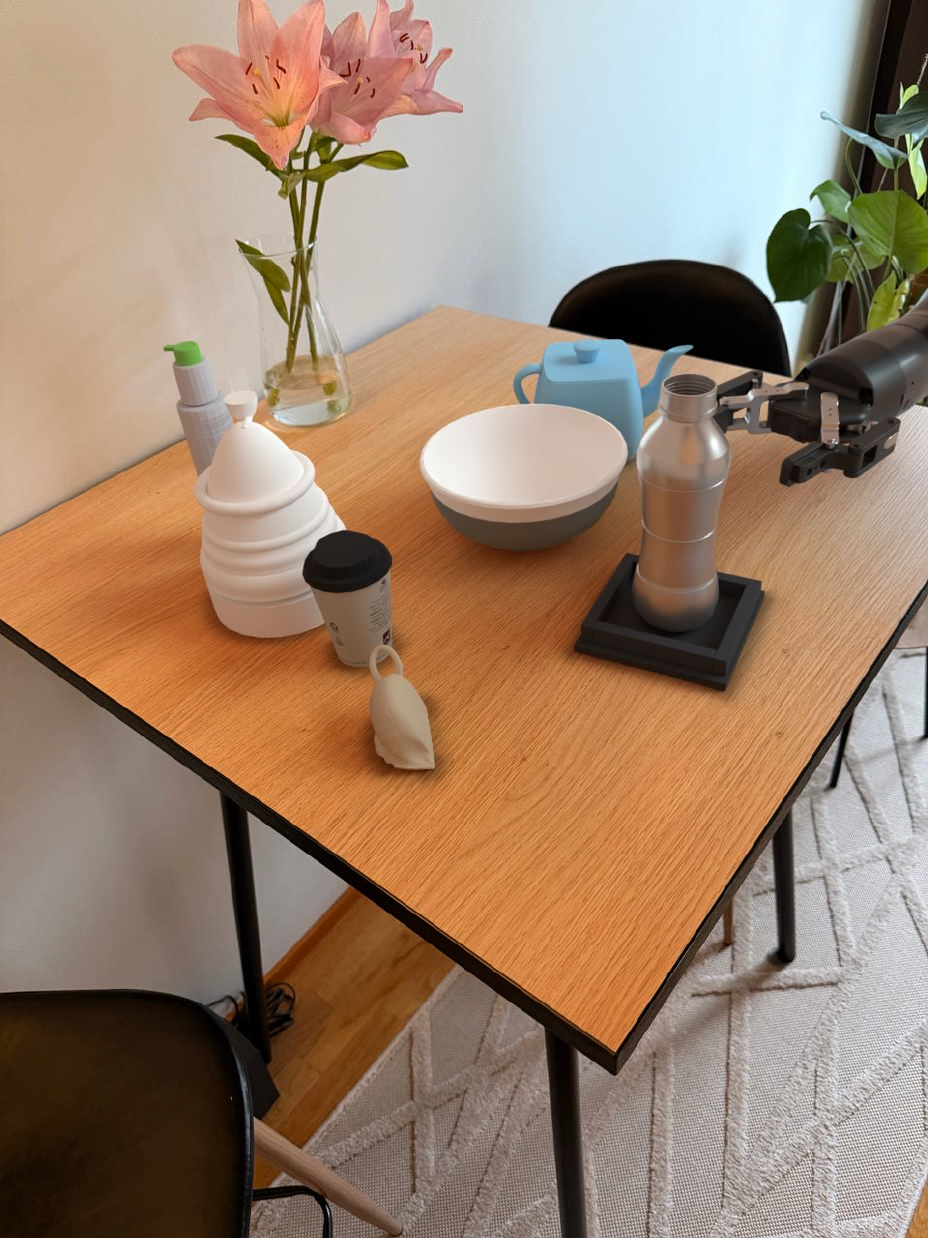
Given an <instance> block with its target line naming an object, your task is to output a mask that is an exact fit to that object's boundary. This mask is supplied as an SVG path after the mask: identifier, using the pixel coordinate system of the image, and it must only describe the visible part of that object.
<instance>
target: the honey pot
mask: <svg viewBox="0 0 928 1238" xmlns="http://www.w3.org/2000/svg"><path fill="white" fill-rule="evenodd" d="M224 401H225V404H226V407H227V409H228V410H229V412H230V413H231V416H232V417H234V418H235V419H237V420H239V421H237V422H234V425H232V426H231V427H230V428H229V429H228V430H227V431H226V432H225V433H224V435H223V436H222V438H221V440H220V442H219V444H218V446H217V448H216V451H215V454H214V457H213V460H212V464H211V466H209V467H208V468H207V469H206V470H205V471H203V472H202V473H201V474H200V475H199V477H198V476H197V479H196V480H195V482H194V484H193V496H194V498H195V500H196V502H197V504H198V506H200V507H202V508H203V509H204V513H203V515H202V517H201V547H200V551H199V553H200V554H199V565H200V569H201V571H202V573H203V578H204V580H205V585H206V588H207V590H208V593H209V596H210V599H211V603H212V605H213V608H214V611H215V613H216V615H217V617H218V620H219V622H221V624H222V625H224V626H225V627H226V628H227V629H229V630H230V631H233V632H235V633H238V634H240V635H242V636H247V637H252V638H259V639H270V638H283V637H289V636H294V635H299V634H302V633H305V632H308V631H311V630H313V629H316V628H318V627H320V626H323V625H325V622H324V620H323V617H322V615H321V612H320V610H319V607H318V605H317V602H316V600H315V597H314V595H313V592H312V590H311V588H310V585H309V584H308V583H306V582H305V580H304V577H303V575H302V572H303V565H304V561H305V559H306V557H307V556H308V554H309V553H310V551H312V550H313V549H314V548H315V546H316V543H317V541H318V540H319V539H320V538H322V537H324V536H326V535H328V534H330V533H334V532H338V531H341V530H347V528H346V525H345V524H344V522H343V521H342V520H341V518H340V516H339V515H338V514H337V513H336V511H335V508H334V507H333V506H332V505H331V503H330V501H329V498H328V495H326V493H325V492H324V490H322V489H323V488H321V487H319V486H318V485H317V483H316V482H315V478H316V469H315V465H314V463H313V462H312V461H311V460H310V458H309V457H308V456H307V455H305V454H303V453H301V452H300V451H297V450H295V449H294V450H293V449H290V448H289V447H288V446H287V444H286V443H285V442H284V441H283V440H282V439H281V438H280V437H278V436H277V435H276V433H274V432H273V431H271V430H270V429H268V428H267V427H266V426H264V425H262V424H260V423H258V422H254V421H253V419H254V416H255V415H256V413H257V411H258V394H257V392H256V391H254V390H250V389H243V390H237V391H236V390H235V391H234V392H231V393H229V394H226V397H225V399H224Z"/></svg>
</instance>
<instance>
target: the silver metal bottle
mask: <svg viewBox="0 0 928 1238" xmlns="http://www.w3.org/2000/svg"><path fill="white" fill-rule="evenodd" d="M717 385H718V382H717V380H715V379H714V378H712V377H710V376H708V375H705V374H701V373H693V372H691V373H690V372H686V373H684V372H683V373H677V374H672V375H670V377H668V378H666V379H665V380H663V382H662V385H661V392H660V400H659V402H658V409H657V411H658V413H659V414H660V416H659V417H657V419H656V420H655V421H654V422H653V423H652V424H651V425H650V426H649V427H648V429H647V430H646V431H645V433H644V434H642V438H641V440H640V443H639V446H638V449H637V453H636V454H635V458H636V471H637V476H638V482H639V492H640V498H641V518H642V519H641V531H642V532H641V540H640V548H639V554H638V555H639V562H638V564H637V567H636V571H635V575H634V581H633V586H632V593H633V598H634V604H635V608H636V610H637V612H638V613H639V614H640V615H641V617H642V618H643V619H644V620H645V621H646V622H647V623H648V624H650V625H652V626H653V627H655V628H658V629H661V630H665V631H670V632H684V631H690V630H693V629H696V628H698V627H700V626H701V625H702V624H704V623H705V622H706V621H707V620H708V619H709V618H710V617H711V616H712V615H713V612H714V610H715V607H716V604H717V601H718V598H719V587H718V576H717V572H718V571H717V567H716V566H717V565H716V563H717V562H716V561H717V560H716V535H717V534H716V533H717V527H718V521H719V514H720V508H721V502H722V498H723V495H724V491H725V487H726V484H727V480H728V476H729V472H730V469H731V464H732V463H731V462H732V451H731V447H730V443H729V440H728V438H727V437H726V434H724V433H723V431H722V430H721V428H720V427H719V425H718V424H717V423H716V421H715V420H714V419H713V417H712V416H713V415H715V413H716V412H717V401H716V398H717V390H718V387H717Z"/></svg>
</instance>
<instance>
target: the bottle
mask: <svg viewBox="0 0 928 1238" xmlns="http://www.w3.org/2000/svg"><path fill="white" fill-rule="evenodd" d="M163 352H172V353H173V355H174V361H173V362H172V370H173V375H174V378H175V383H176V386H177V390H178V394H179V396H180V398H179V399H178V401H177V402H176V410H177V414H178V417H179V420H180V424H181V426H182V430H183V434H184V436H185V440H186V443H187V447H188V450H189V452H190V455H191V458H192V461H193V465H194V469H195V471H196V475H197V478H198V477H199V475H200V474H201V473H202V472H203V471H205V470H206V469H207V468H208V467H209V466H211V464H212V460H213V457H214V454H215V451H216V448H217V446H218V444H219V442H220V440H221V438H222V436H223V435H224V433H225V432H226V431H227V430H228V429H229V428H230V427H231V426H232V425H234V424H235V422H234V420H233V415H232V414H231V413H230V412H229V410H228V409H227V407H226V404H225V401H224V399H225V397H226V396H227V394H225V393H224V392H223V391H222V390H218V387H217V385H216V384H217V383H216V381H215V377H214V374H213V371H212V368H211V366H210V362H209V359H208V357H207V356H206V355H203V354H202V352H201V349H200V347H199V344H198V342H197V341H193V340H186V341H181V342H178V343H176V344H166V345H165V346H164V347H163Z"/></svg>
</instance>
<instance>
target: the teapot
mask: <svg viewBox="0 0 928 1238" xmlns="http://www.w3.org/2000/svg"><path fill="white" fill-rule="evenodd" d="M693 348H694V345H692V344H686V345H679V346H674V347H672V348H670V349H668V350H666V351H665V352H664V353H663V354H662V355H661V357H660V358H659V361H658V362H657V365H656V369H655V372H654V374H653V377H652V379H651V380H650V381H649V382H648V383H647V384H645V385H643V386H641V384H640V380H639V376H638V371H637V368H636V364H635V361H634V358H633V355H632V354H633V353H632V352H631V349H630V347H629V345H628V344H627V343H626V342H625V341H624V340H623V339H614V338H613V339H593V338H592V339H591V338H586V339H581V340H573V341H564V342H563V341H561V342H560V341H559V342H552V343H549V345H548V346H546V347H545V350H544V352H543V356H542V360H541V363H537V362H535V363H529V364H526V365H525V366H523V367H522V368H520V369H519V370H518V371H517V372H516V374H515V375H514V377H513V381H512V389H513V392H514V395H515V397H516V399H517V402H518V403H519V404H531V402H530V401H529V399H528V398H527V396H526V393H525V392H524V390H523V386H522V381H523V380H524V379H525V378H526V377H528V376H531V375H536V374H537V375H538V376H537V381H536V385H535V389H534V390H535V391H534V398H533V404H551V405H559V406H566V407H572V408H576V409H579V410H583V411H587V412H589V413H592V414H594V415H597V416H599V417H601V418H603V419H604V420H606V421H608V422H609V423H611V424H612V425H613V426H614V427H615V428H616V429H617V430H618V431H620V433H621V434H622V436H623V438H624V440H625V442H626V443H627V450H628V456H627V459H626V462H631V461H632V460H633V459H634V458H635V457H636V453H637V449H638V446H639V443H640V440H641V438H642V437H643V432H644V419H646V418H648V417H649V416H652V414H654V413H655V412H656V411H658V402H659V400H660V392H661V385H662V382H663V380H665V379H666V378H668V377H670V376H671V373H672V370H673V367H674V366H675V364H676V362H677V361H678V360H679V359H680V357H682V356H683V355H685V354H686V353H687V352H689V351H690V350H692V349H693Z"/></svg>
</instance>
